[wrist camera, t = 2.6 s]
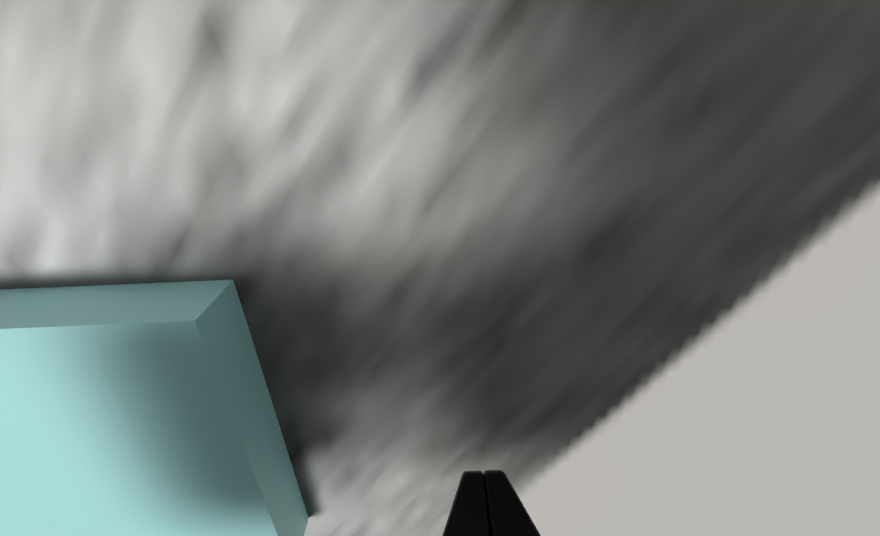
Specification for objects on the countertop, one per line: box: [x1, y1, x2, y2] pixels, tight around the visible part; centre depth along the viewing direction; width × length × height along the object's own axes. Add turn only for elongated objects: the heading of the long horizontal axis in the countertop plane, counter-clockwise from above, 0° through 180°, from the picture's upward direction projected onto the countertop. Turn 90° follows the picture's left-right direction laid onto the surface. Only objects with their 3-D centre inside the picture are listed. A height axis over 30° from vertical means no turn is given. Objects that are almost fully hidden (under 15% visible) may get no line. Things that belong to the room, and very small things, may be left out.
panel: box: [0, 280, 309, 536], centre depth 10 cm, size 8×12×2 cm, turn 93°
